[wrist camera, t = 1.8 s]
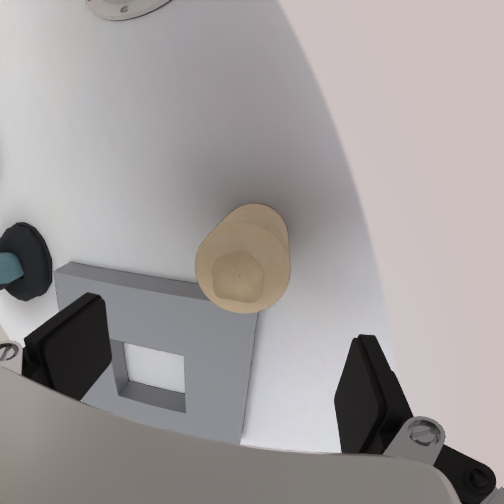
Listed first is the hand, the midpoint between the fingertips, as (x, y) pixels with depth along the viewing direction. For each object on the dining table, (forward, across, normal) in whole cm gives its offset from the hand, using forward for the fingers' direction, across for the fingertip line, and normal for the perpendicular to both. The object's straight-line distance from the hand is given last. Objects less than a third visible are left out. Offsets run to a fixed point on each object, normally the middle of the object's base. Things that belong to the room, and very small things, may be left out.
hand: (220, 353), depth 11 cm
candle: (+16, 0, -1) cm, 16 cm away
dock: (+16, +9, +14) cm, 23 cm away
